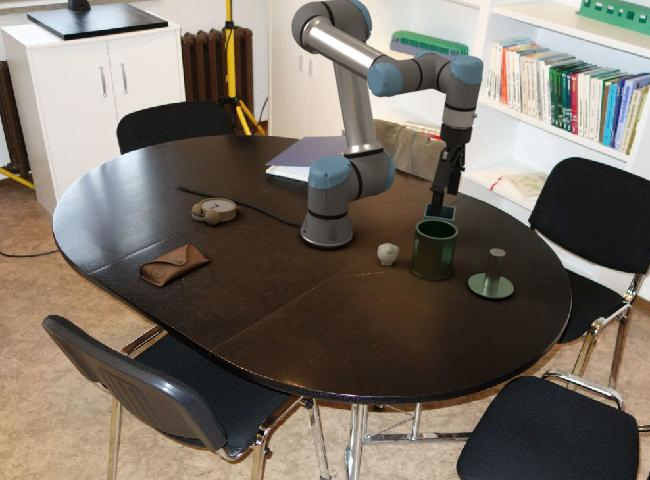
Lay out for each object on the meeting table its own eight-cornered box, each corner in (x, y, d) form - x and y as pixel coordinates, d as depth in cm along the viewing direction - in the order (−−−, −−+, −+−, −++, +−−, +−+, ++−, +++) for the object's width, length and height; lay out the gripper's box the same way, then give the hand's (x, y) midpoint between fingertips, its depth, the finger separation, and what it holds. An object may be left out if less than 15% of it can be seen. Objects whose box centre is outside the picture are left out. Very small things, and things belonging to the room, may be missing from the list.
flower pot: (449, 247, 201) (454, 219, 196) (419, 243, 202) (423, 215, 197) (451, 233, 208) (456, 206, 203) (422, 229, 209) (426, 202, 204)
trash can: (407, 276, 186) (412, 234, 179) (414, 256, 195) (419, 216, 188) (448, 283, 184) (455, 242, 177) (453, 263, 193) (460, 223, 186)
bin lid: (465, 296, 179) (472, 259, 173) (469, 273, 189) (476, 237, 183) (511, 304, 177) (520, 267, 171) (513, 281, 187) (522, 245, 181)
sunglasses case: (161, 286, 175) (150, 262, 173) (146, 290, 179) (135, 267, 178) (212, 260, 187) (202, 237, 185) (197, 264, 192) (187, 242, 190)
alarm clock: (244, 205, 210) (210, 214, 199) (242, 220, 212) (209, 230, 201) (217, 194, 215) (182, 202, 204) (215, 209, 217) (181, 218, 206)
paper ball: (376, 266, 190) (377, 248, 186) (377, 256, 194) (379, 238, 191) (397, 268, 189) (399, 250, 186) (397, 258, 194) (400, 240, 191)
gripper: (456, 144, 154) (442, 227, 166) (486, 112, 173) (471, 189, 185) (425, 136, 156) (413, 219, 168) (458, 106, 175) (445, 183, 187)
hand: (443, 204), depth 177 cm, fingers open, 13 cm apart
